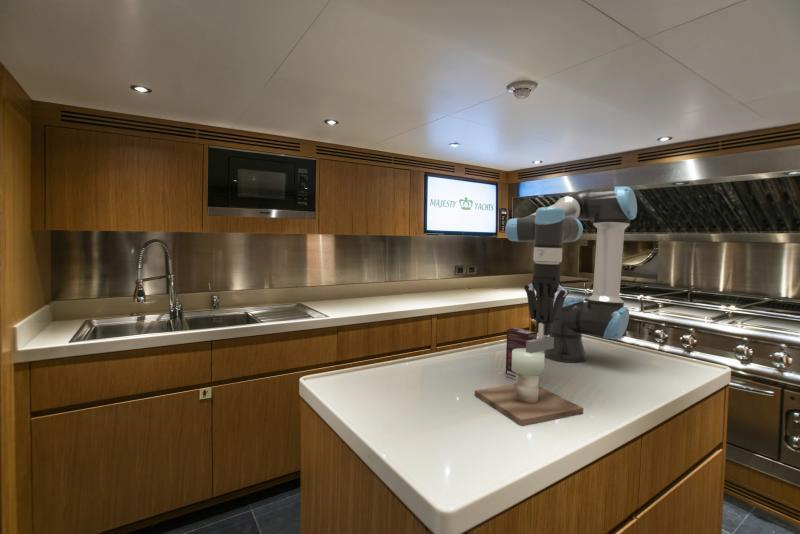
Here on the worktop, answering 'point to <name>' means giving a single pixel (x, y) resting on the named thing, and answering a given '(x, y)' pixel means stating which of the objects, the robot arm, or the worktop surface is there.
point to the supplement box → (516, 345)
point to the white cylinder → (531, 357)
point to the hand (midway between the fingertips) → (542, 345)
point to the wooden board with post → (528, 401)
